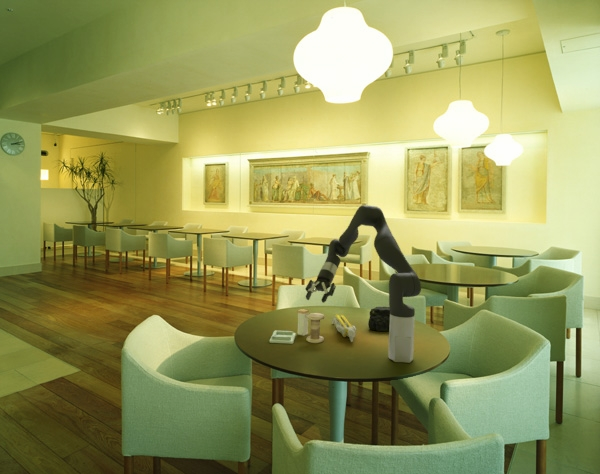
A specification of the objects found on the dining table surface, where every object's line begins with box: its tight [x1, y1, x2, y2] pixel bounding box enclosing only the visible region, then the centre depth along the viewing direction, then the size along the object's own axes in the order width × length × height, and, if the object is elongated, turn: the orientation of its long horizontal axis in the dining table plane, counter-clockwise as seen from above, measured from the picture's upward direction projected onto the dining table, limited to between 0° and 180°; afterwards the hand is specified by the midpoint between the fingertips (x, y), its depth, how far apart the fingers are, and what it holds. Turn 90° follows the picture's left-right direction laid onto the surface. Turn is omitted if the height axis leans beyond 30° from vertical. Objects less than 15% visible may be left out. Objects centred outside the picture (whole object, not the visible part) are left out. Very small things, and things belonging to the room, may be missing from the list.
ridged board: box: [269, 330, 297, 345], centre depth 182 cm, size 12×10×2 cm
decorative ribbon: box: [331, 314, 357, 343], centre depth 193 cm, size 8×6×30 cm
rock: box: [367, 306, 390, 332], centre depth 201 cm, size 18×10×15 cm
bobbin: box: [305, 312, 325, 344], centre depth 181 cm, size 8×8×11 cm
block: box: [297, 308, 310, 336], centre depth 189 cm, size 4×4×11 cm
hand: (314, 300), depth 197 cm, fingers open, 8 cm apart
